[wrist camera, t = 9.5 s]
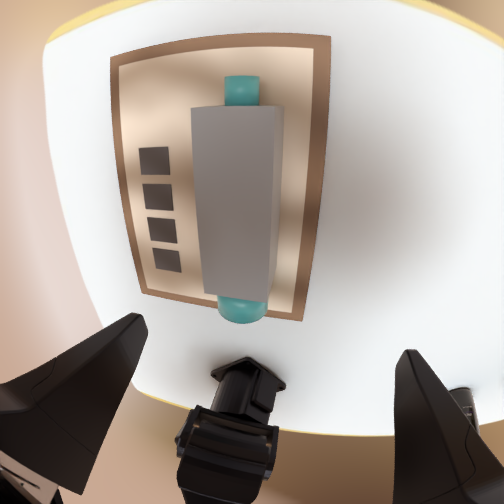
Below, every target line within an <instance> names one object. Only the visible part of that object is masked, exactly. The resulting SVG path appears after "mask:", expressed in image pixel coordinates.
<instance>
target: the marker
mask: <svg viewBox="0 0 504 504" xmlns="http://www.w3.org/2000/svg"><path fill="white" fill-rule="evenodd" d="M259 82H260V77H258V76H247V75H238V76H226V77H224V105H216V106H204V107H195V108H191V134H192V156H193V174H194V189H195V203H196V216H197V228H198V239H199V249H200V259H201V269H202V278H203V286H204V293H206V294H212V295H217V302H218V310H219V313H220V314H221V316H222V317H224V318H225V319H226V320H228V321H231V322H234V323H239V324H246V323H252V322H255V321H257V320H259V319H261V318H262V317H263V316H264V315H265V314H266V312H267V310H268V298H269V294H270V290H271V286H272V282H273V278H274V274H275V270H276V266H277V251H278V235H279V218H280V199H281V179H282V157H283V131H284V106H273V105H259Z"/></svg>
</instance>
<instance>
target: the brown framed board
mask: <svg viewBox="0 0 504 504" xmlns="http://www.w3.org/2000/svg"><path fill="white" fill-rule="evenodd" d="M330 67H331V36H324V35H313V34H298V33H242V34H227V35H216V36H207V37H199V38H192V39H185V40H179V41H174V42H168V43H163V44H159V45H154V46H150V47H145V48H141V49H137V50H133V51H130V52H126V53H123V54H119V55H116V56H113V57H110V86H111V111H112V126H113V138H114V148H115V157H116V166H117V173H118V181H119V187H120V194H121V200H122V206H123V212H124V217H125V222H126V228H127V233H128V237H129V242H130V247H131V251H132V256H133V260H134V264H135V268H136V272H137V276H138V280H139V284H140V288H141V291H142V293H143V294H148V295H152V296H157V297H161V298H166V299H171V300H176V301H181V302H186V303H191V304H196V305H201V306H207V307H212V308H218V302H217V295H212V294H206V293H204V286H203V278H202V269H201V259H200V249H199V239H198V228H197V216H196V203H195V189H194V174H193V156H192V134H191V108H195V107H204V106H216V105H224V77H226V76H238V75H247V76H258V77H260V82H259V105H273V106H284V131H283V157H282V179H281V199H280V218H279V235H278V251H277V266H276V270H275V274H274V278H273V282H272V286H271V290H270V294H269V298H268V310H267V312H266V314H265V315H264V316H266V317H273V318H280V319H287V320H295V321H302V320H303V314H304V309H305V303H306V298H307V292H308V286H309V280H310V274H311V267H312V261H313V254H314V248H315V240H316V233H317V226H318V218H319V210H320V202H321V193H322V184H323V174H324V164H325V153H326V141H327V127H328V112H329V93H330Z"/></svg>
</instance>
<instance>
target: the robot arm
mask: <svg viewBox="0 0 504 504" xmlns="http://www.w3.org/2000/svg"><path fill="white" fill-rule="evenodd" d="M147 336H148V329H147V326H146V323H145V320H144V318H143V316H142V315H141V314H137V313H130V314H128V315H126V316H125V317H123V318H121V319H119V320H118V321H116V322H114V323H113V324H111V325H109V326H107V327H106V328H104V329H102V330H101V331H99V332H97V333H96V334H94V335H92V336H90V337H89V338H87V339H86V340H84V341H82V342H80V343H79V344H77V345H75V346H74V347H72V348H70V349H68V350H67V351H65V352H63V353H62V354H60V355H58V356H57V358H56V357H55V358H53V359H52V360H50V361H48V362H46V363H45V364H43V365H41V366H39V367H37V368H36V369H33V370H31V371H30V372H28V373H25V374H23V375H21V376H19V377H17V378H15V379H13V380H11V381H8V382H6V383H3V384H0V504H63V501H62V498H61V495H60V492H59V489H58V486H61V487H64V488H66V489H68V490H70V491H72V492H74V493H77V494H79V495H82V494H83V491H84V489H85V486H86V483H87V481H88V478H89V476H90V473H91V470H92V468H93V465H94V463H95V461H96V458H97V455H98V453H99V450H100V448H101V445H102V443H103V441H104V438H105V436H106V434H107V431H108V429H109V427H110V424H111V422H112V420H113V418H114V415H115V413H116V411H117V409H118V406H119V404H120V402H121V400H122V398H123V396H124V393H125V391H126V389H127V387H128V385H129V382H130V381H131V378H132V376H133V374H134V372H135V370H136V367H137V364H138V362H139V359H140V356H141V353H142V350H143V347H144V345H145V342H146V339H147ZM211 376H212V377H213V378H215V379H216V380H217V381H219V382H220V383H219V386H218V389H217V392H216V394H215V397H214V400H213V403H212V405H211V408H210V410H209V409H206V408H203V407H202V406H199V405H196V407H195V409H191V410H190V412H189V415H188V417H187V420H186V422H185V423H184V425H183V427H182V428H181V430H180V431H179V433H178V434H177V436H176V438H175V443H176V445H177V457H179V458H181V461H180V464H179V468H178V471H177V482H178V486H179V488H181V491H182V494H183V497H184V500H185V503H186V504H251V503H252V502H253V501H254V500H255V499H256V497H257V495H258V493H259V490H260V487H261V484H262V480H264V481H267V480H268V479H269V477H270V475H271V473H272V470H273V467H274V463H275V459H276V451H277V442H278V433H279V426H270V425H268V421H269V416H270V413H271V412H272V411H273V406H274V402H275V397H276V392H279V391H282V390H285V388H286V385H285V384H284V383H283V382H281V381H280V380H278V379H277V378H276V377H274V376H273V375H272V374H270V373H269V372H268V371H266V370H265V369H264V368H262V367H261V366H260V365H258V364H257V363H256V362H255V361H253V360H252V359H250V358H244V359H241V360H239V361H236V362H234V363H232V364H229V365H227V366H224V367H221V368H219V369H216V370H214V371H212V372H211ZM394 429H395V470H394V490H393V503H392V504H504V467H503V466H502V464H501V463H500V462H499V461H498V459H497V458H496V457H495V456H494V454H493V453H492V452H491V451H490V449H489V448H488V447H487V445H486V444H485V443H484V441H483V440H482V439H481V437H480V436H479V434H478V433H477V431H476V430H475V428H474V427H473V425H472V424H471V423H470V421H469V420H468V418H467V417H466V415H465V414H464V412H463V411H462V409H461V408H460V407H459V405H458V404H457V402H456V401H455V400H454V398H453V397H452V395H451V394H450V393H449V391H448V390H447V389H446V387H445V386H444V385H443V383H442V382H441V380H440V379H439V378H438V376H437V375H436V374H435V373H434V371H433V370H432V369H431V367H430V366H429V365H428V363H427V362H426V361H425V360H424V358H423V357H422V356H421V354H420V353H419V352H418V351H417V350H415V349H406V350H405V351H404V352H403V354H402V355H401V357H400V359H399V361H398V363H397V365H396V368H395V395H394Z"/></svg>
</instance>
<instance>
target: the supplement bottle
mask: <svg viewBox="0 0 504 504" xmlns="http://www.w3.org/2000/svg"><path fill="white" fill-rule="evenodd" d="M449 393H450V394H451V395H452V397H453V398H454V400H455V401H456V402H457V404H458V405H459V407H460V408H461V409H462V411H463V412H464V414H465V415H466V417H467V418H468V420H469V421H470V423H471V424H472V425H473V427H474V428H475V430H476V431H477V433H478V434H479V436H480V430H479V424H478V419H477V414H476V409H475V404H474V400H473V396H472V393H471V391H470V390H468V389H465V388H462V389H456V390H453V391H450V392H449Z"/></svg>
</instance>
